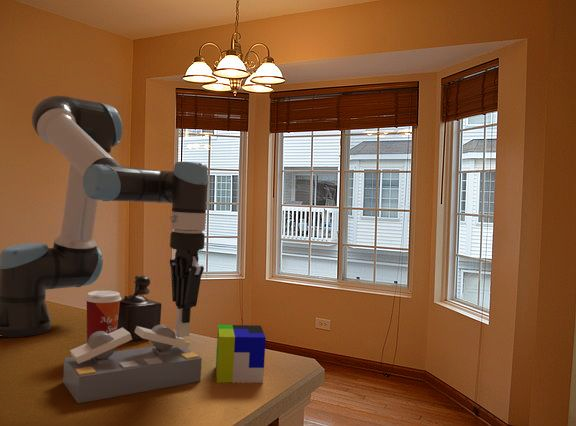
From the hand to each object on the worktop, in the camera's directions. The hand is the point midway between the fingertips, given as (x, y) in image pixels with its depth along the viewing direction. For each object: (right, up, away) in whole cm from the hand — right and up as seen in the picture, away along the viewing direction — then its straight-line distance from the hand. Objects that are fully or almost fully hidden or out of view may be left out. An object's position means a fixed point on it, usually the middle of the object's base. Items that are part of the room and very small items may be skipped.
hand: (182, 335), depth 113 cm
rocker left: (-14, -2, -10) cm, 17 cm away
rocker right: (-5, -2, -3) cm, 6 cm away
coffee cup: (-21, -7, +8) cm, 24 cm away
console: (-9, -8, -8) cm, 14 cm away
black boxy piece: (-17, -7, +25) cm, 31 cm away
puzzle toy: (+13, -9, +1) cm, 16 cm away
